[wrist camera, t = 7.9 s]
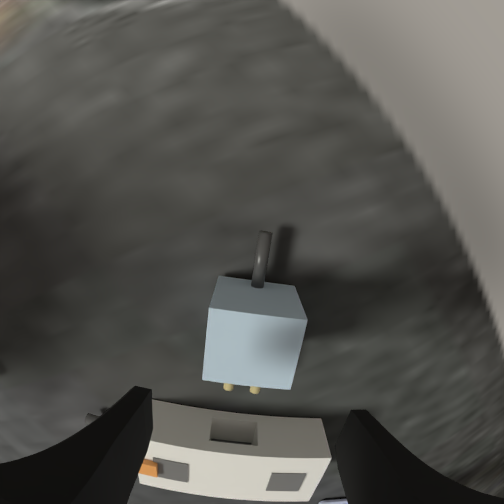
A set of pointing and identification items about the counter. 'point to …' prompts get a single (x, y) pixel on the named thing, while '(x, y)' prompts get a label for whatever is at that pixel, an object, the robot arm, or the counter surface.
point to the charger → (254, 329)
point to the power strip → (233, 454)
